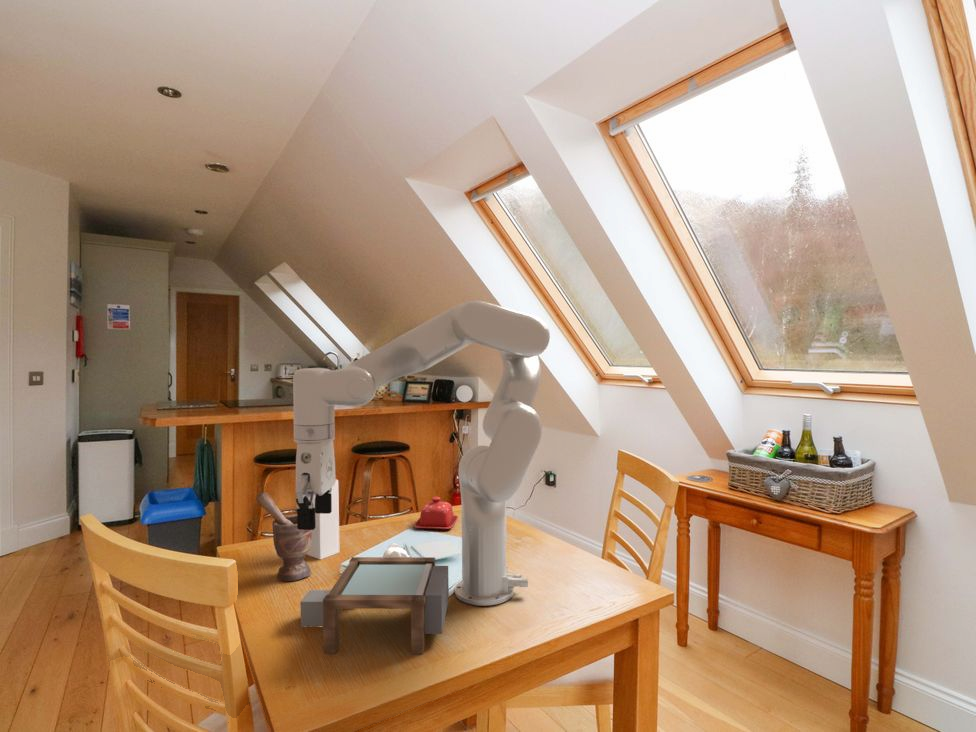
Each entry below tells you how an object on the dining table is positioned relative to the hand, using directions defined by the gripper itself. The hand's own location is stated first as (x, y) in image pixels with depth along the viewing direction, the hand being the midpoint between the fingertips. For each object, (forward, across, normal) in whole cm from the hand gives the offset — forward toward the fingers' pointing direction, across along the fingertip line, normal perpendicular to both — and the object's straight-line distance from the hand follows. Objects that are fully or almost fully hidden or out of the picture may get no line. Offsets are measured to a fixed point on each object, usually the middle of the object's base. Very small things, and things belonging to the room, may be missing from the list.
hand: (315, 520), depth 107 cm
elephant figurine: (+20, +23, -11) cm, 32 cm away
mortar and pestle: (+20, +20, +14) cm, 31 cm away
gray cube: (+20, 0, 0) cm, 20 cm away
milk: (+20, +34, +10) cm, 41 cm away
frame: (+20, -2, -14) cm, 24 cm away
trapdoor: (+17, -2, -16) cm, 24 cm away
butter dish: (+20, +57, -17) cm, 63 cm away
